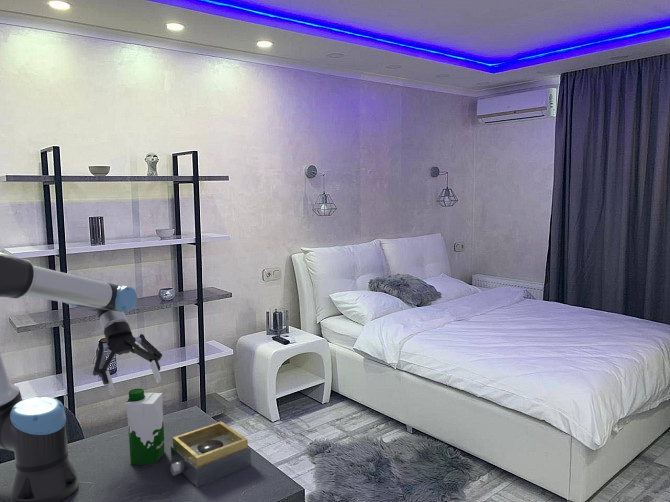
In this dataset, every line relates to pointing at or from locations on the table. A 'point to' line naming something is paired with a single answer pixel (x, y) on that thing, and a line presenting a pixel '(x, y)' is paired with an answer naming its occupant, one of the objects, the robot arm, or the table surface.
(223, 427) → the wooden rimmed tray
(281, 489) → the table surface
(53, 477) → the robot arm
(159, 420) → the soya milk
